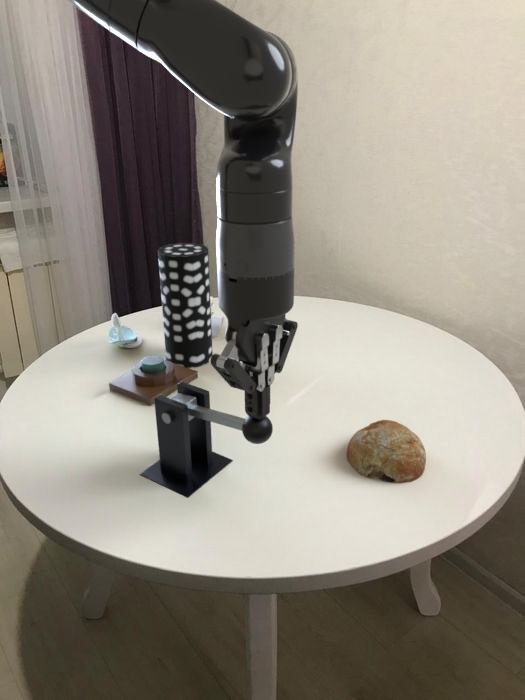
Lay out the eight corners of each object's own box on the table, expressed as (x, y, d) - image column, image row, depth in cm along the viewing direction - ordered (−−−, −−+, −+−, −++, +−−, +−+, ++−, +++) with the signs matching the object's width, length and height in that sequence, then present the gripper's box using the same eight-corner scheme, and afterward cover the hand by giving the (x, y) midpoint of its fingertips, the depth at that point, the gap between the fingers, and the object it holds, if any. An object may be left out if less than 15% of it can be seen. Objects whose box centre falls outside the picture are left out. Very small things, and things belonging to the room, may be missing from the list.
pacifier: (139, 334, 116) (108, 337, 114) (138, 304, 113) (105, 307, 111) (144, 350, 109) (111, 353, 108) (142, 318, 107) (108, 321, 105)
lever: (279, 438, 66) (277, 411, 65) (262, 453, 64) (260, 425, 62) (185, 411, 74) (181, 386, 73) (166, 423, 71) (162, 398, 70)
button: (153, 377, 92) (152, 367, 91) (137, 371, 94) (136, 361, 93) (169, 368, 94) (168, 358, 94) (153, 362, 96) (152, 353, 96)
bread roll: (343, 499, 76) (347, 470, 70) (346, 431, 83) (349, 399, 77) (422, 506, 75) (432, 477, 69) (418, 437, 82) (427, 404, 75)
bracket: (233, 467, 77) (231, 388, 72) (188, 505, 70) (182, 421, 65) (186, 447, 81) (181, 371, 76) (139, 481, 74) (130, 400, 69)
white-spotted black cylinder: (158, 364, 104) (148, 254, 95) (178, 345, 111) (170, 241, 102) (202, 371, 101) (196, 258, 93) (219, 351, 109) (215, 245, 100)
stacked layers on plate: (216, 337, 114) (215, 310, 112) (171, 335, 115) (169, 309, 113) (223, 317, 123) (222, 292, 121) (181, 316, 124) (179, 291, 122)
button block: (151, 412, 89) (149, 389, 87) (110, 395, 94) (107, 373, 92) (198, 383, 97) (197, 361, 96) (158, 369, 102) (156, 348, 100)
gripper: (262, 241, 64) (263, 382, 71) (181, 273, 54) (192, 432, 61) (322, 252, 60) (317, 399, 68) (247, 288, 50) (251, 456, 58)
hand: (257, 415), depth 64 cm, fingers closed
